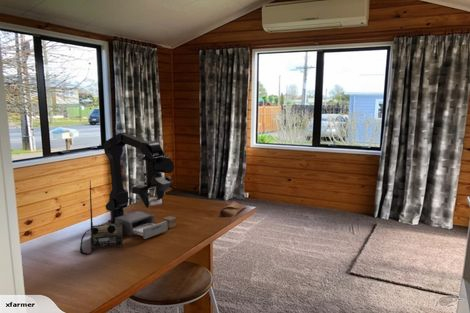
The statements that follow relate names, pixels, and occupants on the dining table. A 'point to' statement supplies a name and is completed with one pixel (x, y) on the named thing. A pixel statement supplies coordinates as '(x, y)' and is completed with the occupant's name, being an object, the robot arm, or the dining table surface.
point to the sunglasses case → (232, 209)
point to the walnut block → (170, 221)
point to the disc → (155, 201)
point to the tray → (150, 229)
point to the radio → (104, 234)
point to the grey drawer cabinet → (134, 221)
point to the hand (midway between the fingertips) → (153, 205)
